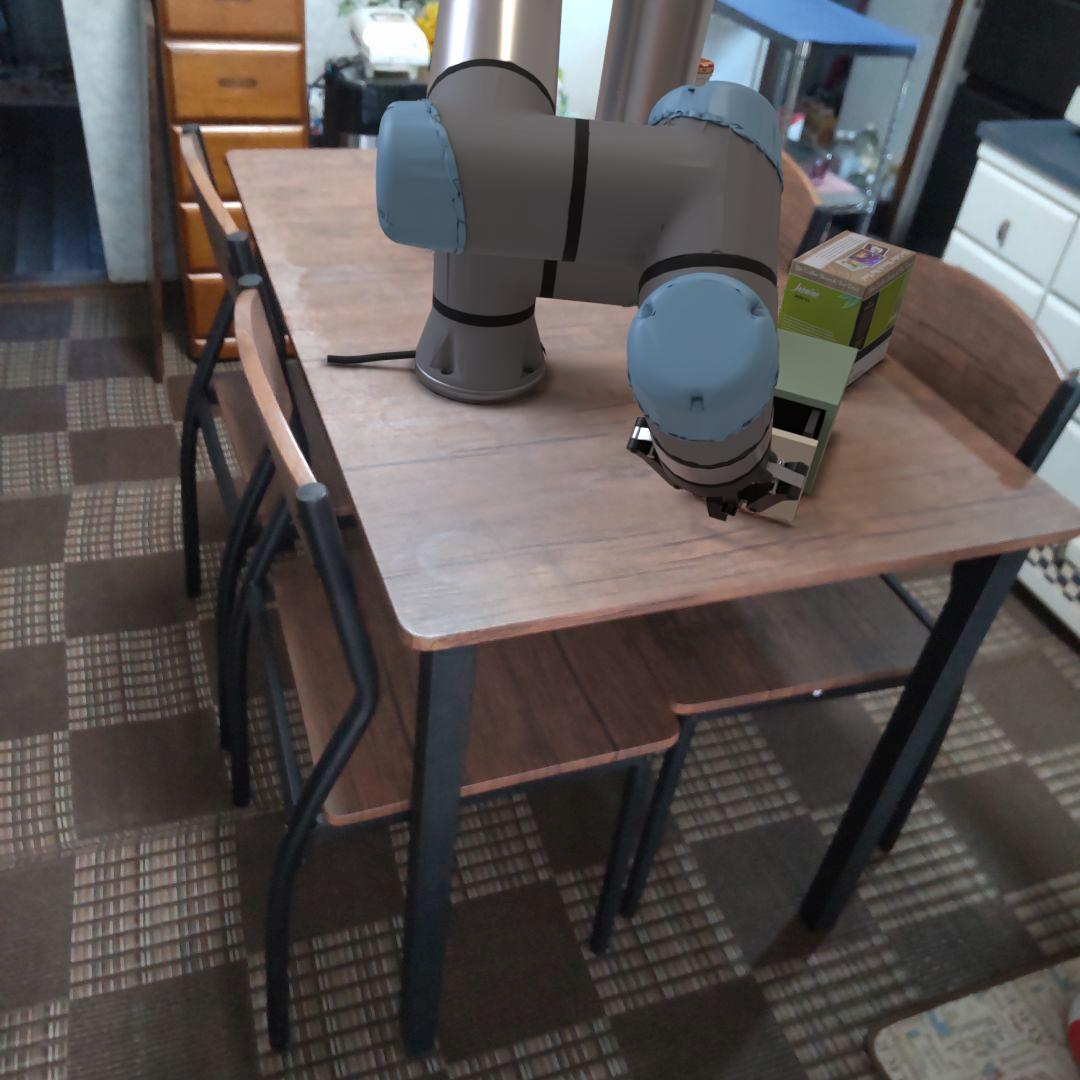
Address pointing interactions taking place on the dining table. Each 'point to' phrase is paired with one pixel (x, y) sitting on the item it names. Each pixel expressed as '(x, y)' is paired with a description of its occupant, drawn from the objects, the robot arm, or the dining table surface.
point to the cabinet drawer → (792, 443)
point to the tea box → (848, 295)
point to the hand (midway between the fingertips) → (722, 504)
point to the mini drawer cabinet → (814, 382)
